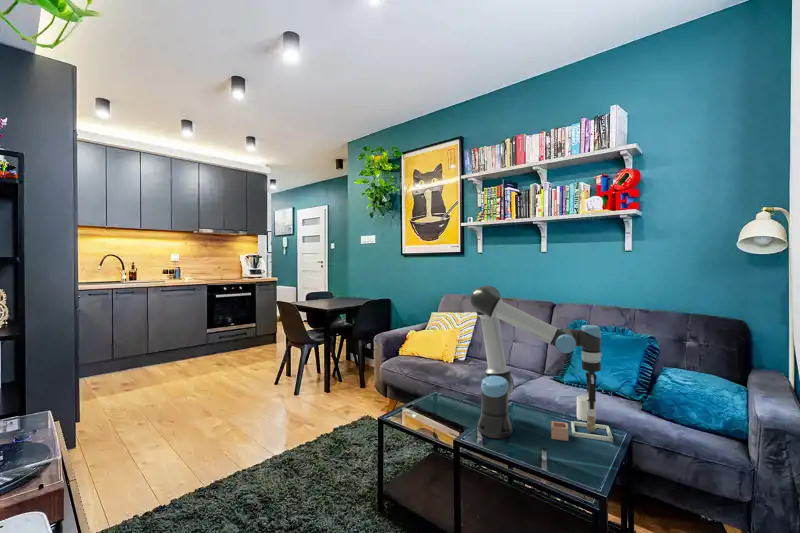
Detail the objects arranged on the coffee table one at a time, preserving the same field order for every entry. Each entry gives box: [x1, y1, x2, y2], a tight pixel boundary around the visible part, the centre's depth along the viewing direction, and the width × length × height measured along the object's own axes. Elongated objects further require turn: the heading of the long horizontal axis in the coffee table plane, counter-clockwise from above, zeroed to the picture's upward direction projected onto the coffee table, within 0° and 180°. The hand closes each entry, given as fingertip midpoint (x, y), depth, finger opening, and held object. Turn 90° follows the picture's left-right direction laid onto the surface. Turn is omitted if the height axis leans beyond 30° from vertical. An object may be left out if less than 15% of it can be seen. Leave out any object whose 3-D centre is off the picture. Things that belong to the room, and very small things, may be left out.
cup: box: [576, 395, 597, 422], centre depth 189 cm, size 8×12×10 cm
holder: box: [550, 420, 569, 442], centre depth 170 cm, size 7×7×6 cm
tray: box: [570, 420, 614, 445], centre depth 174 cm, size 15×13×2 cm
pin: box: [586, 391, 596, 432], centre depth 174 cm, size 3×3×16 cm
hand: (590, 414), depth 174 cm, fingers open, 3 cm apart
